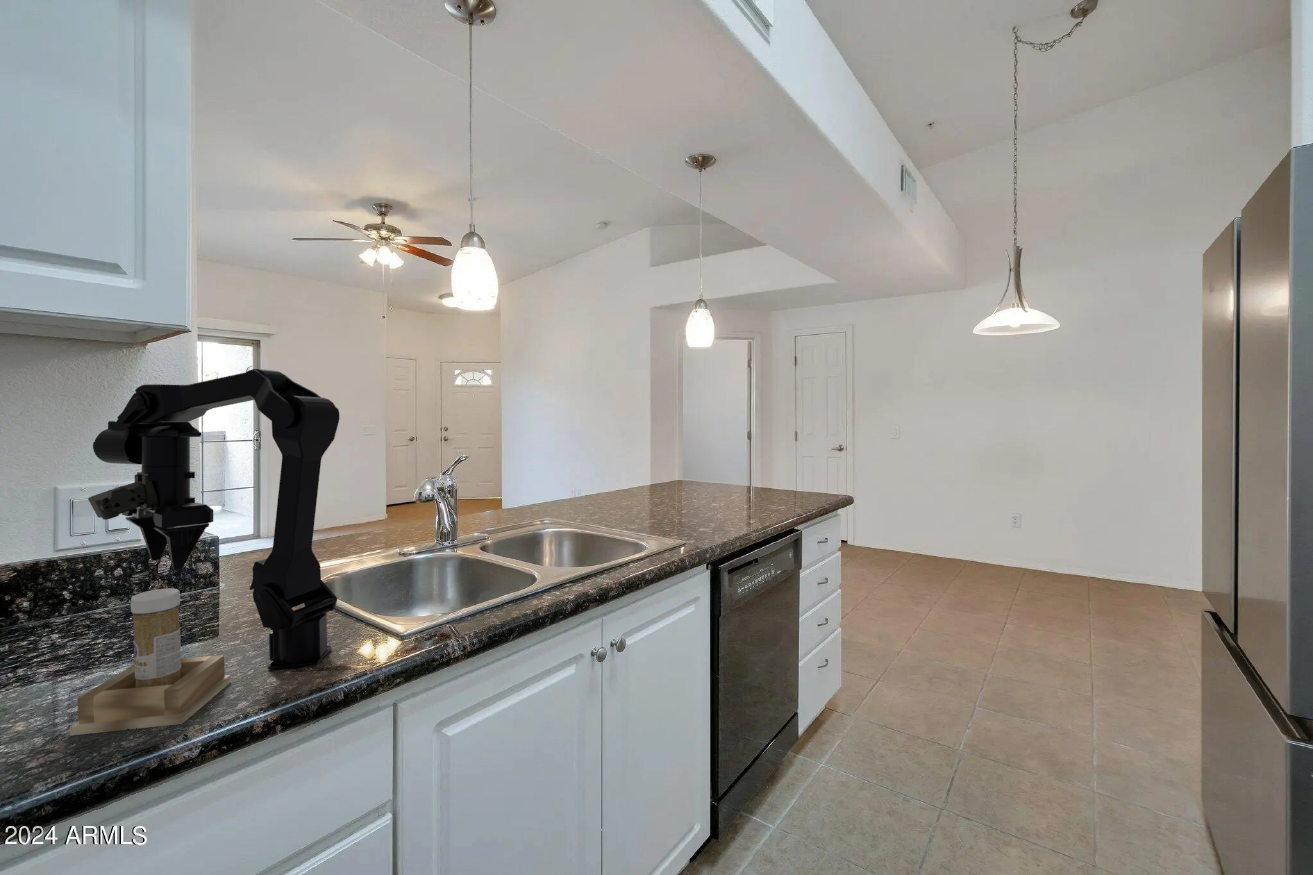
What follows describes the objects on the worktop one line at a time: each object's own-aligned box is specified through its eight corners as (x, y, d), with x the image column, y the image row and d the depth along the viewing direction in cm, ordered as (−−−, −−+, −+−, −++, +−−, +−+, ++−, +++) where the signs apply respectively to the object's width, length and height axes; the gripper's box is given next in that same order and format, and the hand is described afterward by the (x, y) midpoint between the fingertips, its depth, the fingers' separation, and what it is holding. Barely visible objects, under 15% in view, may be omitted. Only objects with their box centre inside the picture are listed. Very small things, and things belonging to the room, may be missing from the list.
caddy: (230, 681, 77) (230, 653, 77) (182, 723, 66) (181, 690, 66) (136, 690, 74) (135, 661, 74) (70, 735, 64) (69, 701, 64)
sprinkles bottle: (127, 703, 69) (122, 595, 69) (172, 687, 73) (167, 585, 73) (146, 711, 67) (142, 600, 67) (191, 693, 71) (187, 589, 71)
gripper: (76, 464, 86) (77, 565, 86) (115, 473, 76) (116, 587, 76) (169, 461, 95) (169, 552, 96) (214, 468, 85) (214, 569, 86)
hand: (166, 564), depth 88 cm, fingers open, 9 cm apart
